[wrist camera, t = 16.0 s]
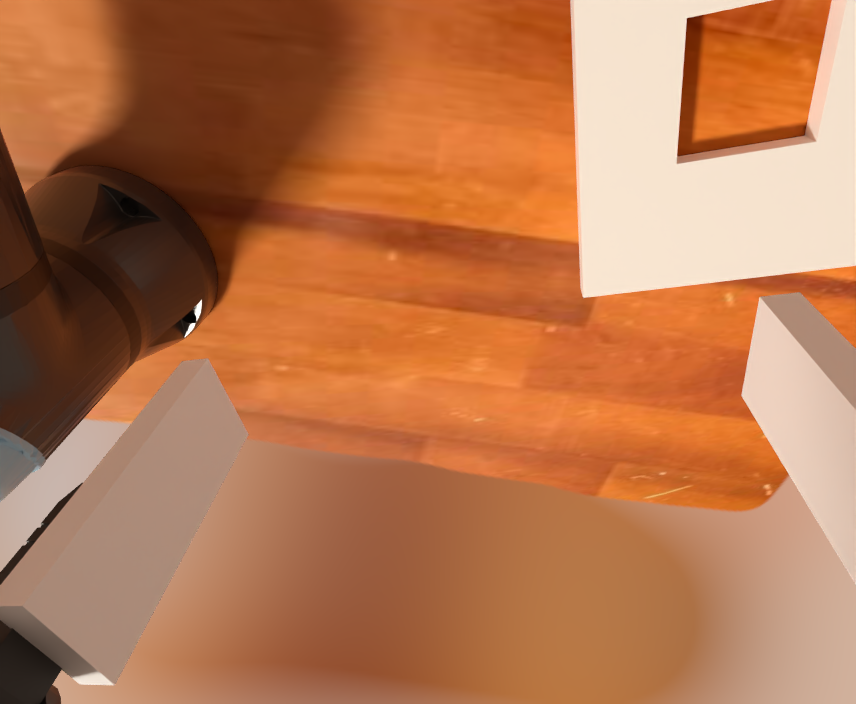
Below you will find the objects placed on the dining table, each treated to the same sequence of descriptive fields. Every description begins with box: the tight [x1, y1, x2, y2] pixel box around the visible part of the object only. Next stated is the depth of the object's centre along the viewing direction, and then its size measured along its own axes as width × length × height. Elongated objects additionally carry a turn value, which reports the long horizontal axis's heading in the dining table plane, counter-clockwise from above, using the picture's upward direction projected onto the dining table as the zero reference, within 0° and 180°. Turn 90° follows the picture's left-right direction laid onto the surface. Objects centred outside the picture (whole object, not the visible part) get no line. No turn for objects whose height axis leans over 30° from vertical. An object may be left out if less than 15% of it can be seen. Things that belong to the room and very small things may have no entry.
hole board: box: [570, 0, 856, 298], centre depth 29 cm, size 20×32×2 cm, turn 11°
